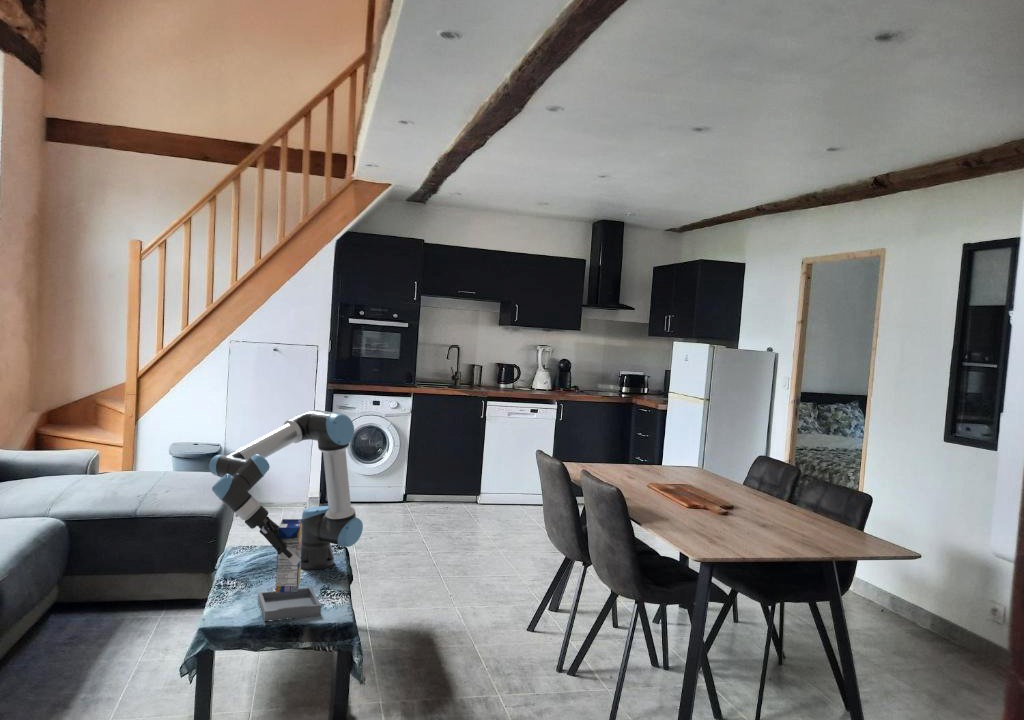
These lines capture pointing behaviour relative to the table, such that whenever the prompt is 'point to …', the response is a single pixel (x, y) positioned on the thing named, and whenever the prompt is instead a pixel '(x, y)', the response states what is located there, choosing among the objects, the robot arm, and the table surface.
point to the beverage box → (286, 570)
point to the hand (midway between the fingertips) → (298, 557)
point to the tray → (289, 604)
